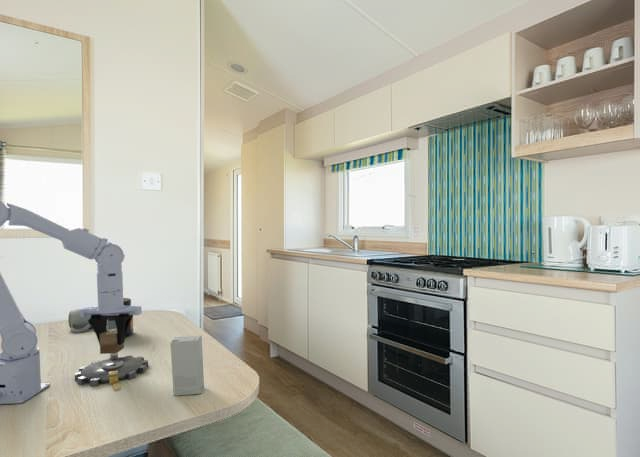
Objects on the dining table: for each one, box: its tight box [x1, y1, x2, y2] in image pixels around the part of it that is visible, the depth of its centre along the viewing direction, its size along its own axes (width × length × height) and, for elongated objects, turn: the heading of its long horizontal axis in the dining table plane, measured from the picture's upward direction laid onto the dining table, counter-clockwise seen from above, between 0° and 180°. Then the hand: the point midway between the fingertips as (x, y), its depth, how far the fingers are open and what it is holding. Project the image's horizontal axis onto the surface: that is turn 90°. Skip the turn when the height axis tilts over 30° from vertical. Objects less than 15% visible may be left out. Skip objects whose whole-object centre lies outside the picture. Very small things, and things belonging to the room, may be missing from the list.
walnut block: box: [99, 329, 125, 355], centre depth 100 cm, size 4×4×5 cm
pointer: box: [112, 382, 121, 392], centre depth 91 cm, size 4×1×1 cm, turn 32°
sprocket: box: [74, 352, 149, 387], centre depth 100 cm, size 16×16×4 cm
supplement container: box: [106, 297, 134, 338], centre depth 133 cm, size 10×10×12 cm
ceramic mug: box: [68, 307, 93, 334], centre depth 142 cm, size 10×8×7 cm
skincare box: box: [170, 335, 205, 397], centre depth 88 cm, size 6×4×12 cm
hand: (112, 343), depth 100 cm, fingers closed on walnut block, 4 cm apart
